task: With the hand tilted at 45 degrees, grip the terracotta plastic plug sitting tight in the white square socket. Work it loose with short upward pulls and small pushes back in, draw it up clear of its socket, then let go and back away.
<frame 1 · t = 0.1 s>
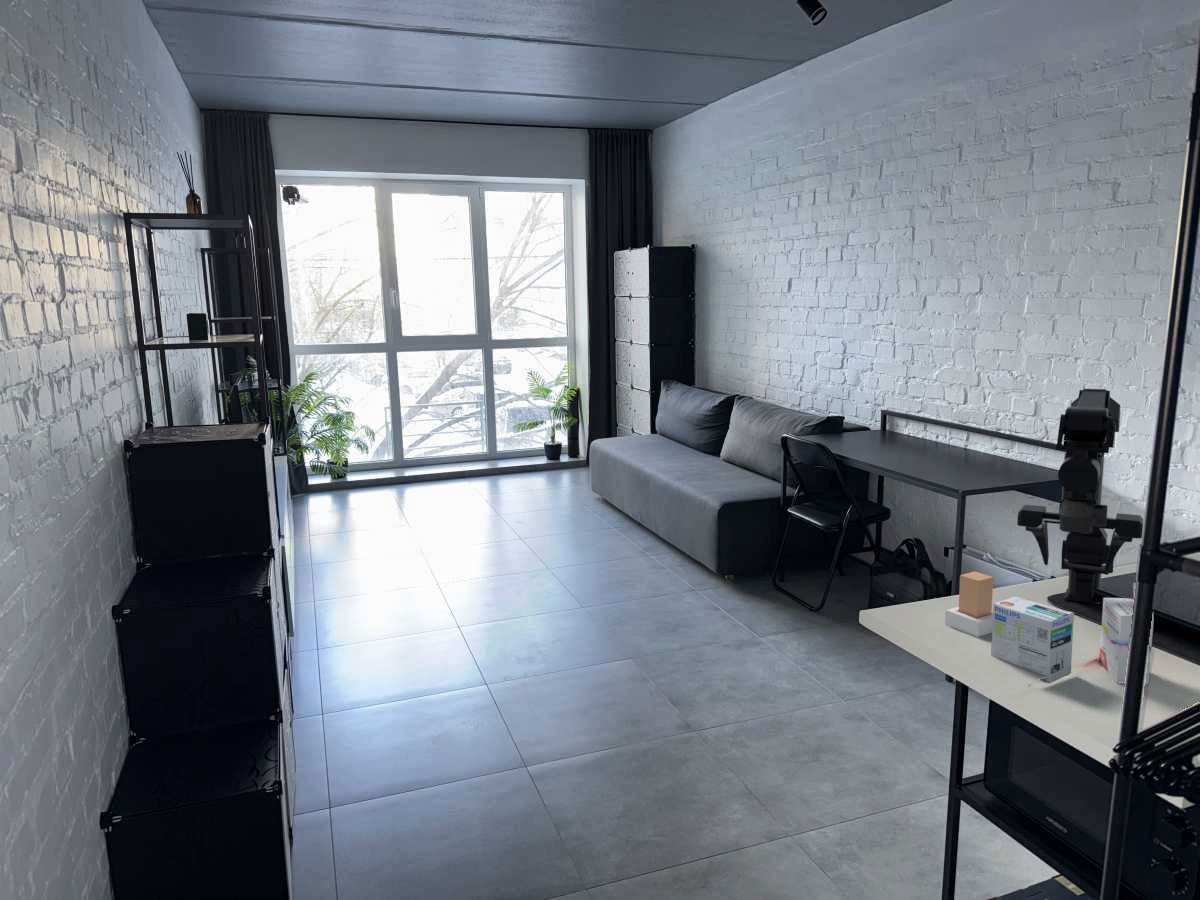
hand: (1075, 568, 150), 15 cm above the table, tool pointing down, fingers open, 9 cm apart
plug: (975, 601, 159), point 6 cm above the table, slide at 0.0 cm
light bulb box: (1029, 669, 145), on the table
white square socket: (974, 627, 160), resting on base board
ink cartridge box: (1122, 674, 142), on the table
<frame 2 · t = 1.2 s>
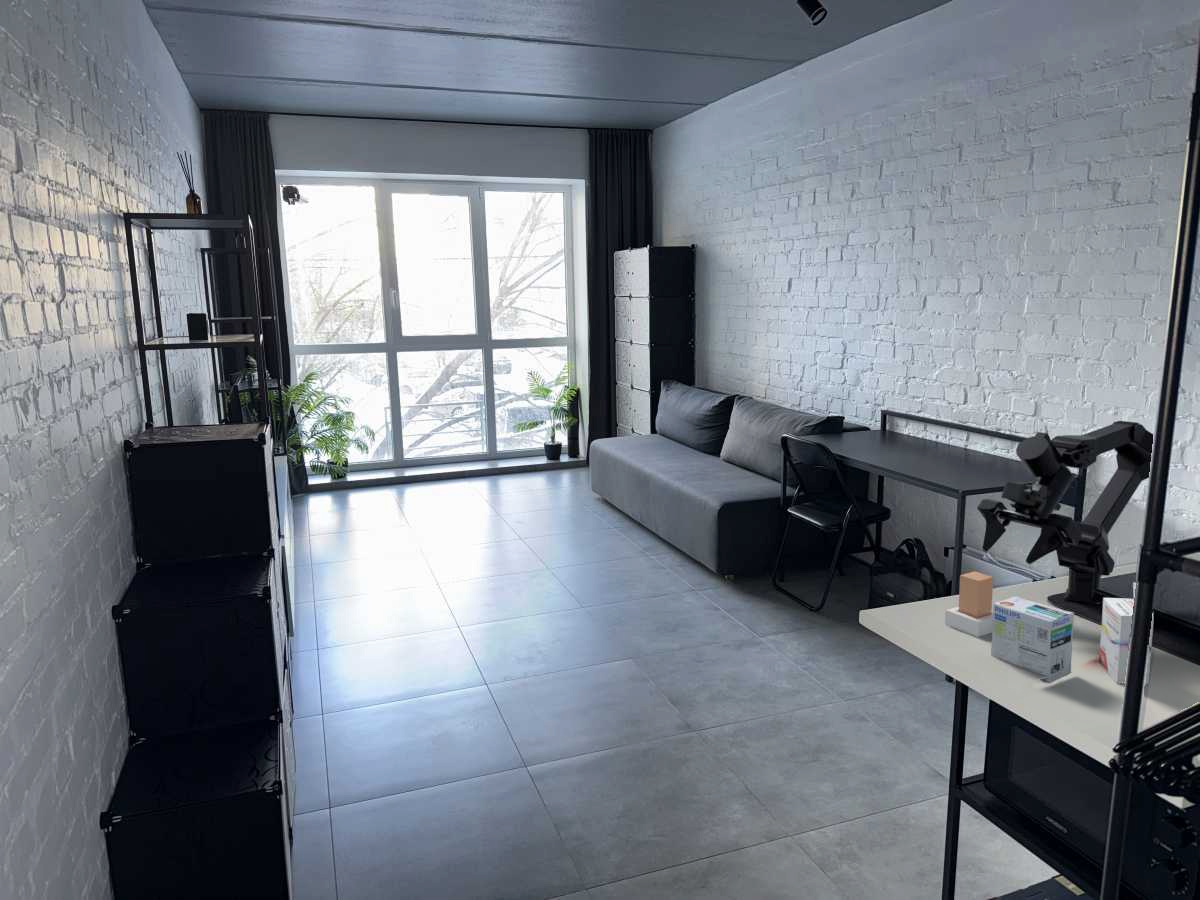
hand: (1005, 556, 161), 13 cm above the table, tool tilted 45°, fingers open, 9 cm apart
nothing on the table moved.
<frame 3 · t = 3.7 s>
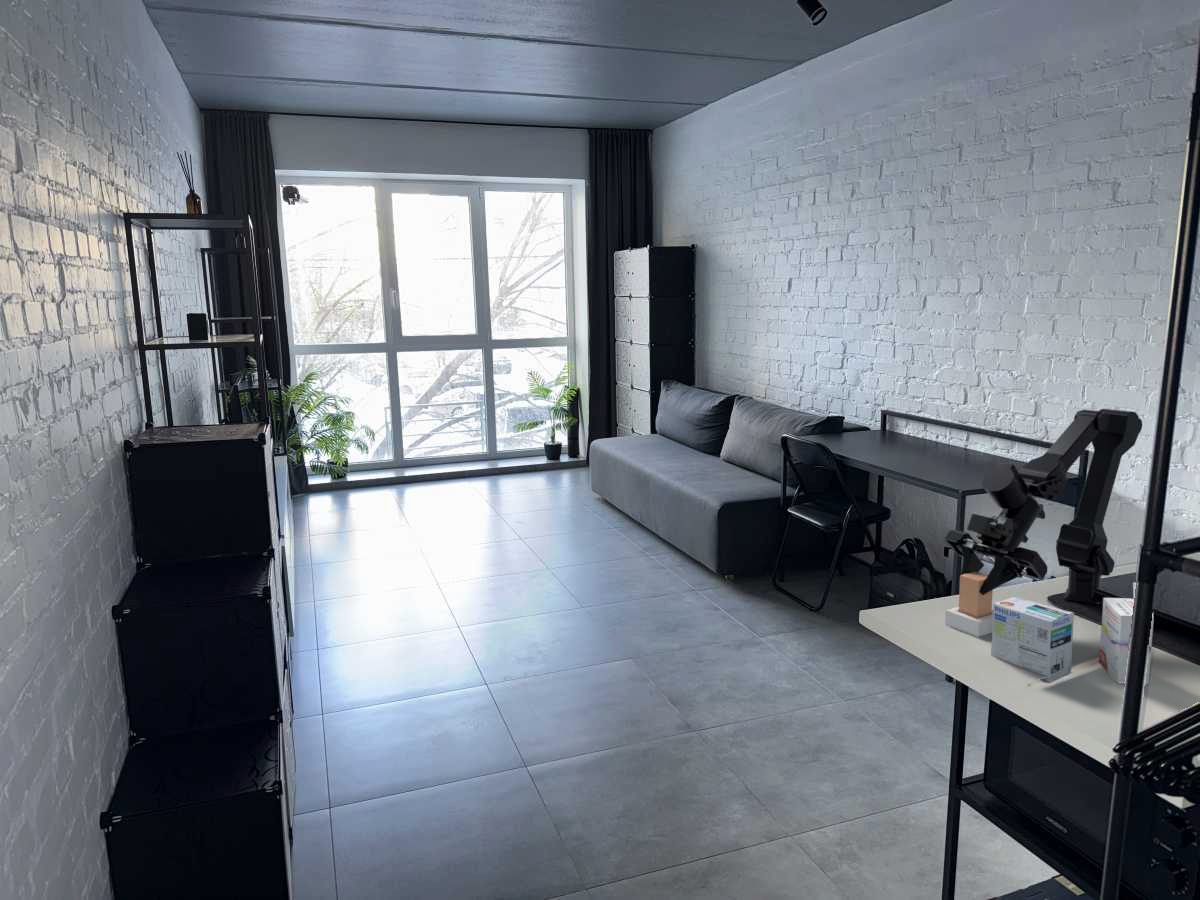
hand: (970, 590, 158), 9 cm above the table, tool tilted 45°, fingers closed on plug, 4 cm apart
plug: (975, 601, 159), point 6 cm above the table, slide at 0.0 cm, touching gripper
everything else where it was.
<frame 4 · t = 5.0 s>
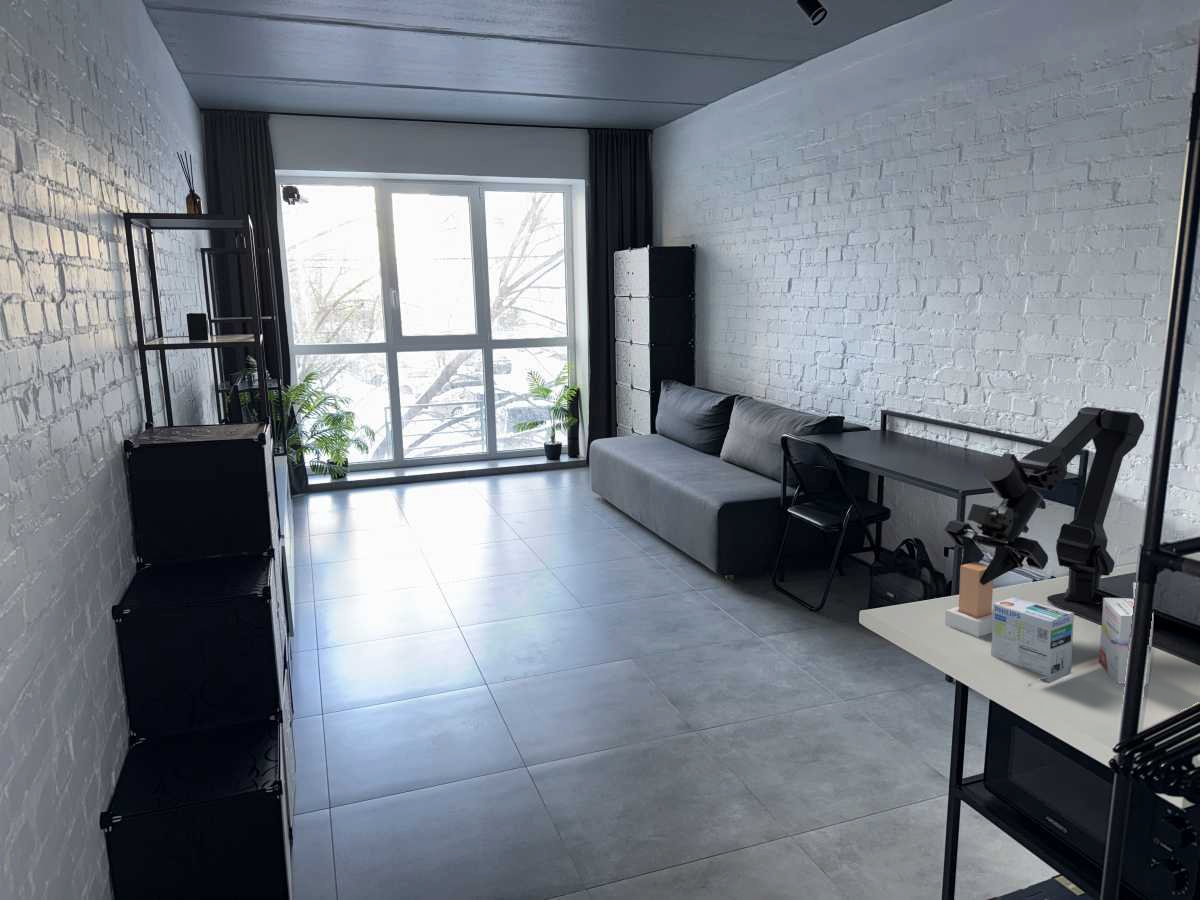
hand: (971, 580, 158), 10 cm above the table, tool tilted 45°, fingers closed on plug, 4 cm apart
plug: (975, 591, 159), point 8 cm above the table, slide at 1.9 cm, touching gripper
everything else where it was.
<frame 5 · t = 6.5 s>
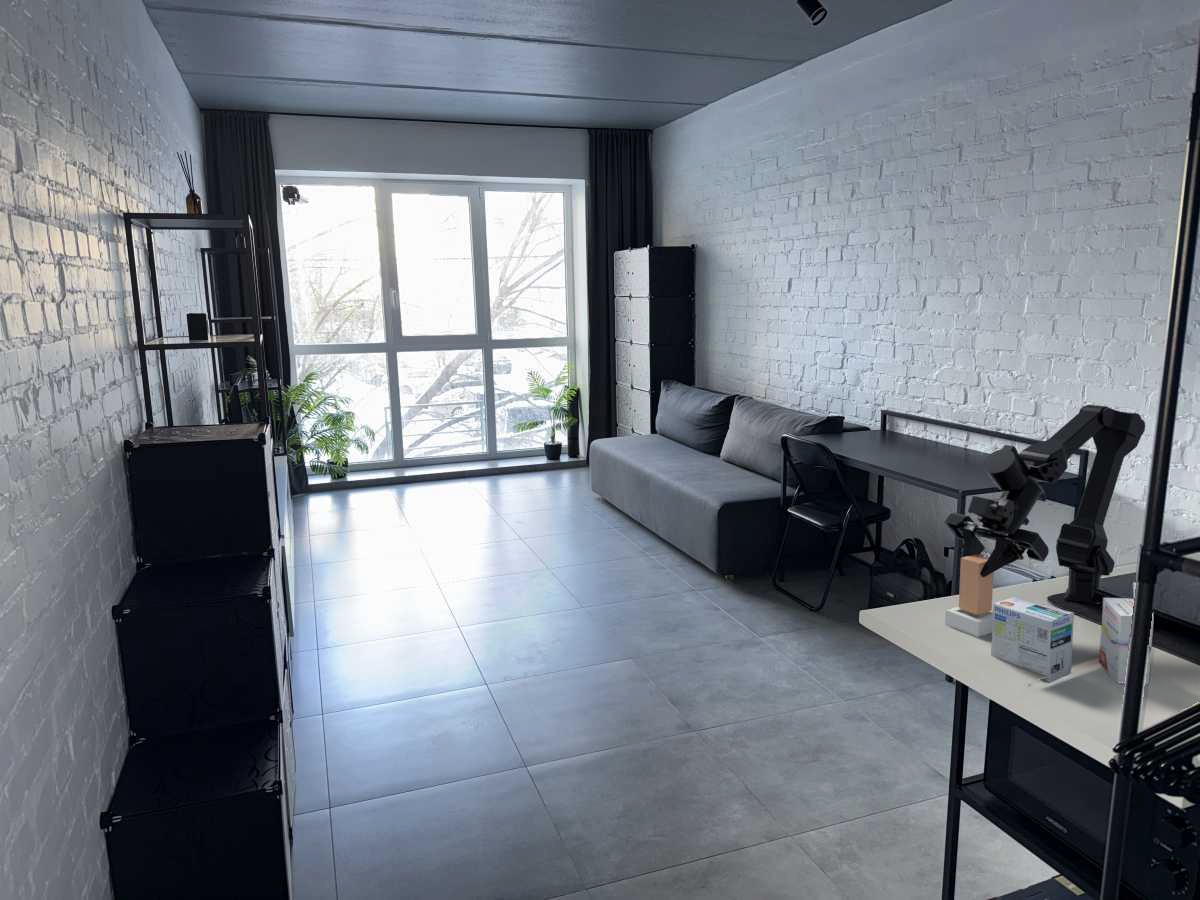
hand: (971, 572, 158), 12 cm above the table, tool tilted 45°, fingers closed on plug, 4 cm apart
plug: (976, 584, 159), point 9 cm above the table, slide at 3.4 cm, touching gripper
everything else where it was.
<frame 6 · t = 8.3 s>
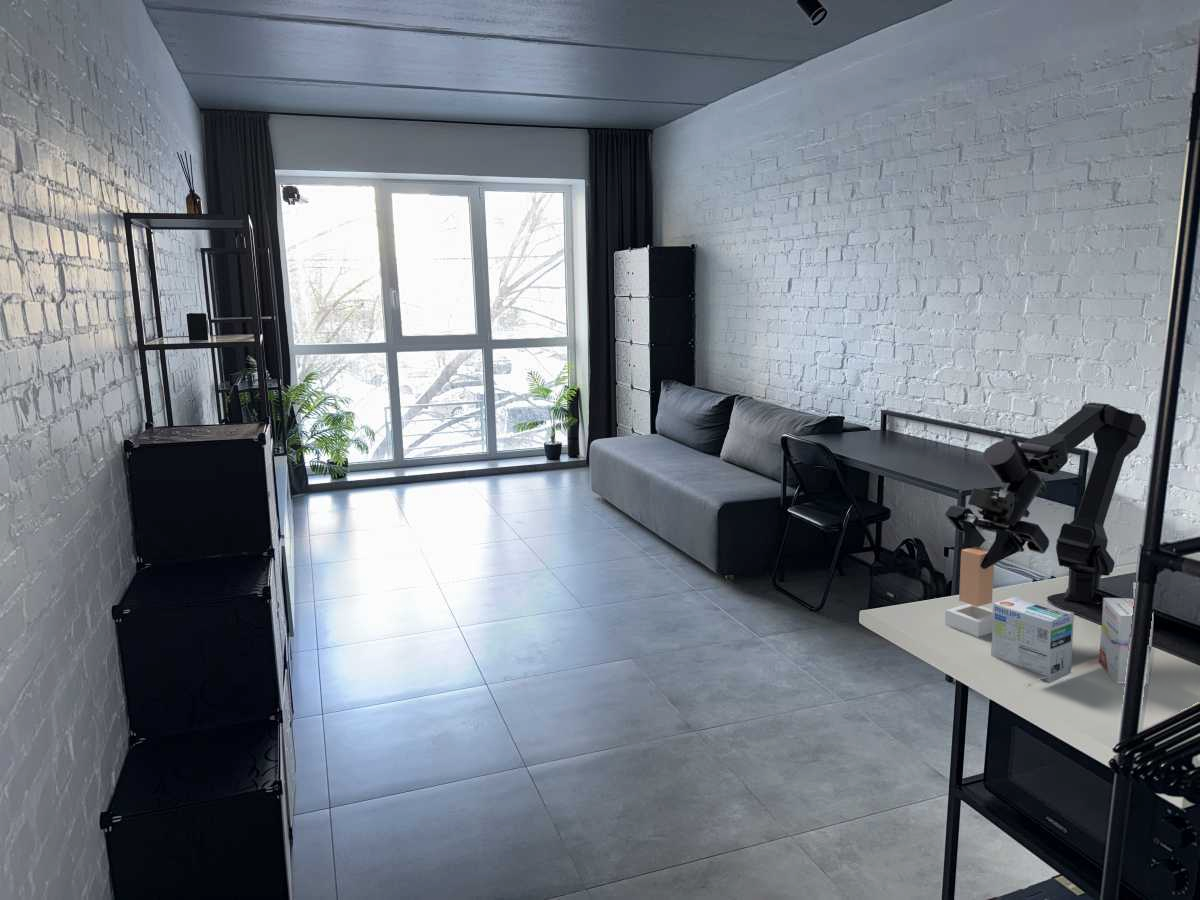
hand: (972, 564, 157), 13 cm above the table, tool tilted 45°, fingers closed on plug, 4 cm apart
plug: (976, 576, 158), point 11 cm above the table, slide at 4.9 cm, touching gripper
everything else where it was.
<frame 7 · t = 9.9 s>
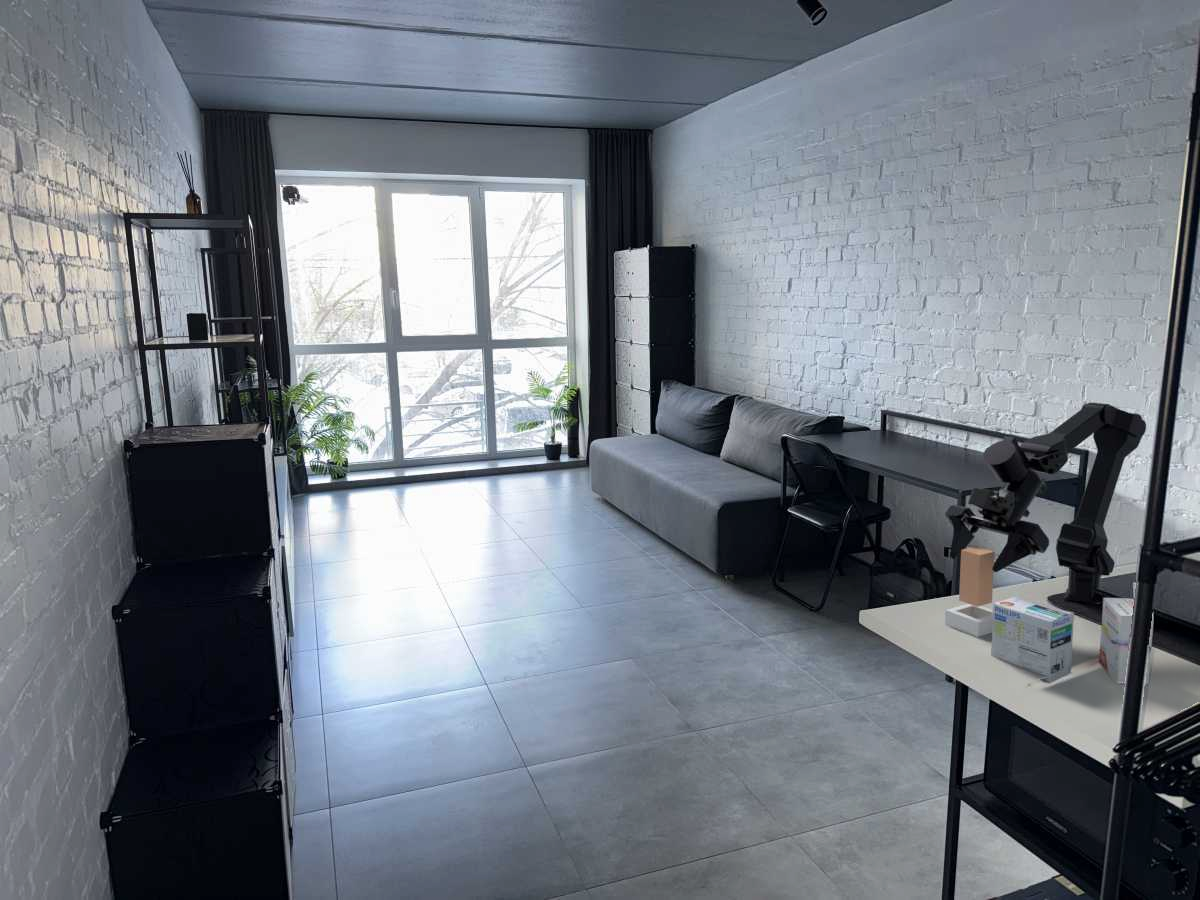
hand: (972, 564, 157), 14 cm above the table, tool tilted 45°, fingers open, 9 cm apart
plug: (976, 576, 158), point 11 cm above the table, slide at 4.9 cm
everything else where it was.
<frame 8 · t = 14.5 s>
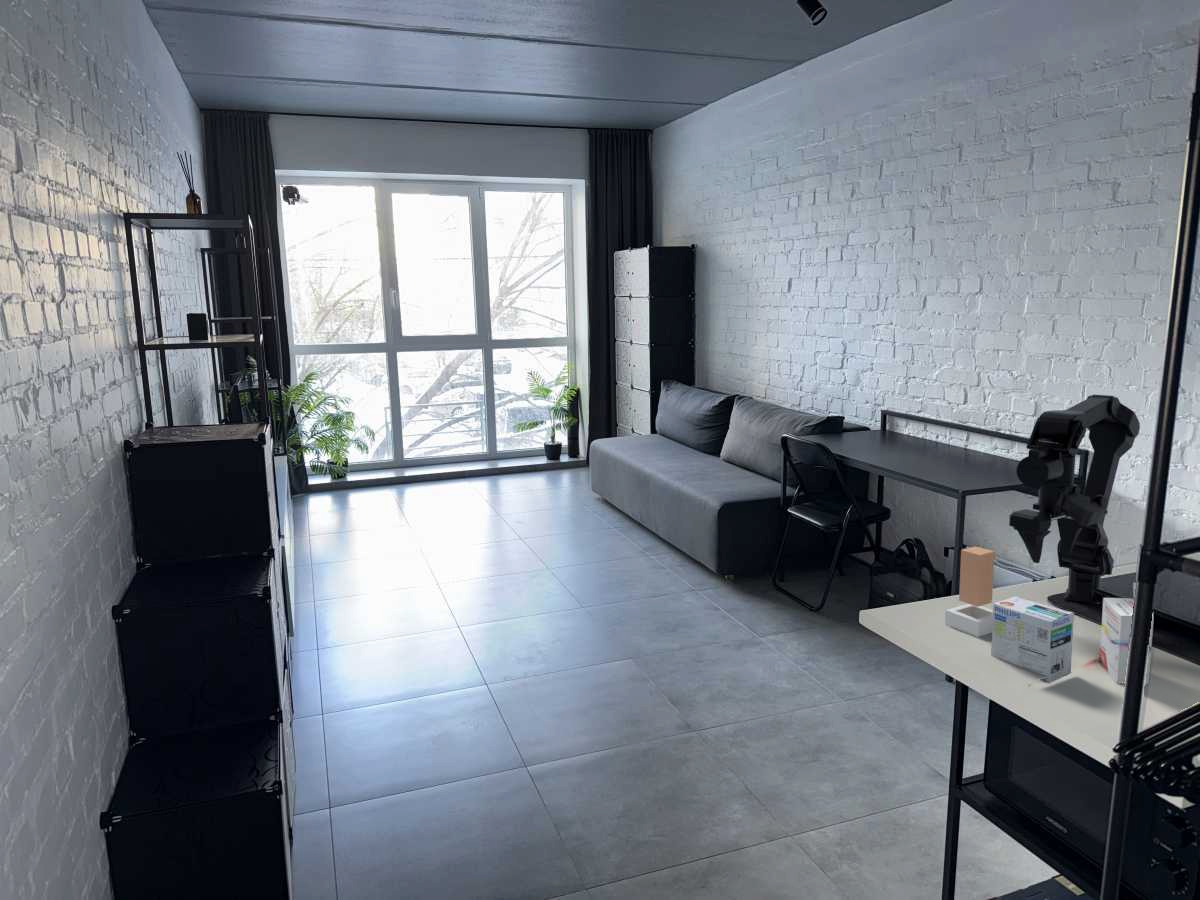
hand: (1051, 558, 164), 12 cm above the table, tool pointing down, fingers open, 9 cm apart
nothing on the table moved.
at the end: plug slide at 4.9 cm; the gripper is holding nothing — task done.
